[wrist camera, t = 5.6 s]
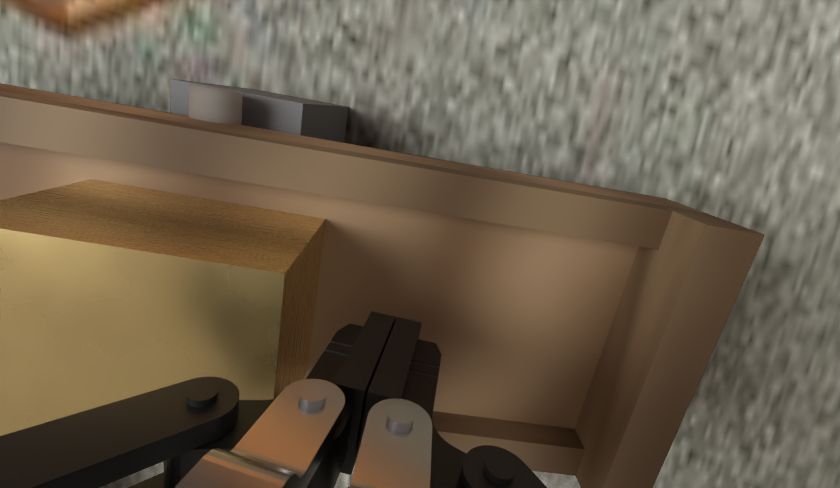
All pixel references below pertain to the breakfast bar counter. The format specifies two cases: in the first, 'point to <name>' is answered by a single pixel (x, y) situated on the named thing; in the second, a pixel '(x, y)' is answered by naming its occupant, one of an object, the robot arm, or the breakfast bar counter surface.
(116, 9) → the breakfast bar counter surface
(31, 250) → the block
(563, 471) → the seesaw beam
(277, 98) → the trestle
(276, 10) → the breakfast bar counter surface
